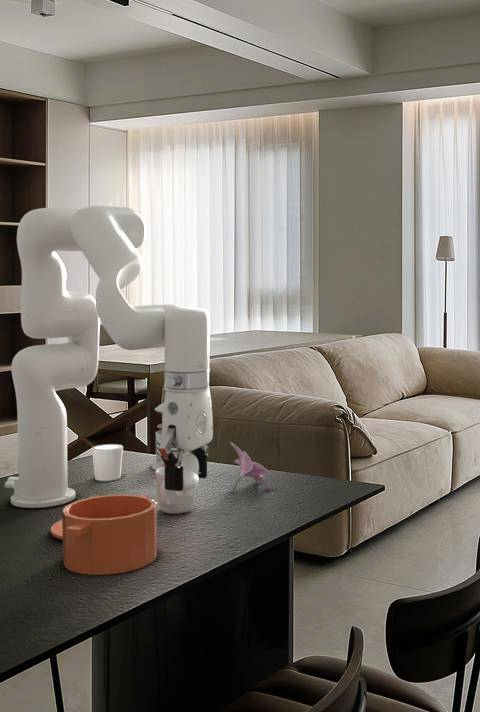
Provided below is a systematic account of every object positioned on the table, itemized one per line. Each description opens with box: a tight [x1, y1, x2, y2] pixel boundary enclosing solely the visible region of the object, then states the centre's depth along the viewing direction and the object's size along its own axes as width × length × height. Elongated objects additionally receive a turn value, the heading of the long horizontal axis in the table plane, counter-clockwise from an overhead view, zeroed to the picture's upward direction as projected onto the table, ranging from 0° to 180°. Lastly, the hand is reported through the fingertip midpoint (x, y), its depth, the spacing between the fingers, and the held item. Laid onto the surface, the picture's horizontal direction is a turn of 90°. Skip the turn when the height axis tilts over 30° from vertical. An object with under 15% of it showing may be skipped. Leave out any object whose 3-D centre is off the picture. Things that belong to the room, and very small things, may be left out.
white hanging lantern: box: [151, 402, 188, 471], centre depth 204 cm, size 10×12×25 cm
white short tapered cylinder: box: [91, 443, 124, 482], centre depth 193 cm, size 7×7×7 cm
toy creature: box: [176, 452, 200, 496], centre depth 146 cm, size 5×8×6 cm, turn 0°
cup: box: [154, 467, 196, 515], centre depth 165 cm, size 11×8×8 cm
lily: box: [229, 441, 271, 493], centre depth 181 cm, size 12×12×10 cm
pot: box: [61, 494, 158, 576], centre depth 139 cm, size 15×20×8 cm
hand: (186, 482), depth 146 cm, fingers closed on toy creature, 7 cm apart
